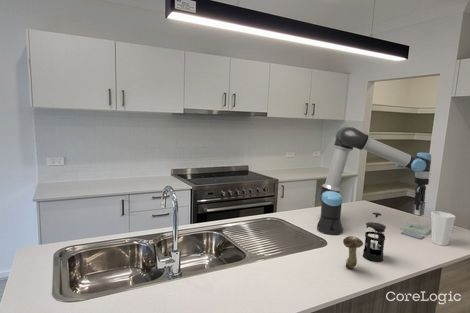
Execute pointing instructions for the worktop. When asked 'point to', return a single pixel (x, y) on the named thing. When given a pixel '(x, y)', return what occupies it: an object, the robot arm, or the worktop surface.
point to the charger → (420, 208)
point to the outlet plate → (423, 230)
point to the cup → (441, 227)
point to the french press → (372, 246)
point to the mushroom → (352, 250)
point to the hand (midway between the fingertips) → (418, 213)
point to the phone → (412, 235)
